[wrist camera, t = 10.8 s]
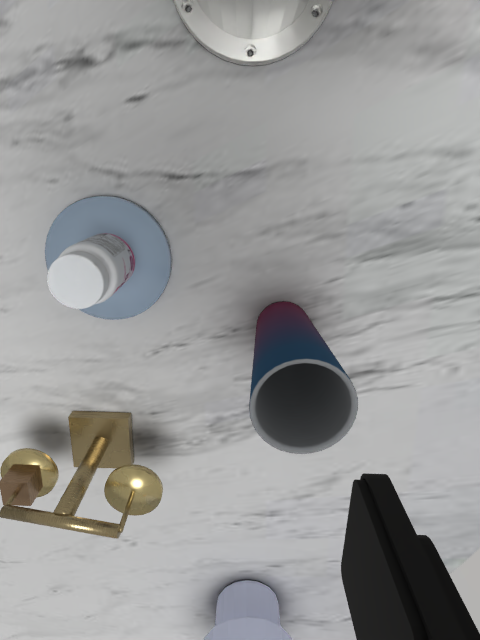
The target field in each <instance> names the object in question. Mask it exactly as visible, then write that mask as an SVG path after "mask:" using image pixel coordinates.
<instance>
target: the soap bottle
mask: <svg viewBox="0 0 480 640" xmlns="http://www.w3.org/2000/svg"><path fill="white" fill-rule="evenodd" d="M204 640H292V638H291V636H290V635H289V634H288V633H287V632H286V631H285V630H284V629H283V628H282V627H281V625H280V613H279V604H278V601H277V597H276V594H275V593H274V592H273V591H272V590H271V589H270V588H269V587H268V586H266V585H264V584H262V583H260V582H258V581H250V580H244V581H239V582H235V583H233V584H231V585H229V586H227V587H225V588H224V590H223V591H222V592H221V593H220V595H219V597H218V601H217V606H216V621H215V626H214V627H213V628H212V629H211V631H210V632H209V633H208V634H207V635H206V637H205V638H204Z"/></svg>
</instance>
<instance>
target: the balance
mask: <svg viewBox="0 0 480 640" xmlns="http://www.w3.org/2000/svg"><path fill="white" fill-rule="evenodd" d="M68 418H69V427H70V436H71V445H72V453H73V462H74V467H78V469H77V471H76V472H75V474H74V476H73V478H72V480H71V482H70V483H69V485H68V487H67V489H66V491H65V492H64V494H63V496H62V498H61V500H60V501H59V503H58V505H57V507H56V509H55V510H54V512H53V513H52V512H47V511H41V510H35V509H30V508H24V507H18V506H12V505H22V506H31V505H32V503H33V502H34V500H35V498H36V497H41V496H44V495H46V494H48V493H49V492H50V491H51V490H52V489H53V487H54V486H55V484H56V482H57V480H58V468H57V466H56V464H55V462H54V461H53V460H52V459H51V458H50V457H49V456H48V455H47V454H45V453H43V452H41V451H39V450H36V449H30V448H24V449H19V450H16V451H14V452H12V453H11V454H10V455H9V456H8V457H7V458H6V459H5V460H4V462H3V463H2V466H1V477H2V479H1V480H0V490H1V496H2V501H3V505H4V506H3V507H2V509H1V511H0V517H1V518H6V519H12V520H17V521H23V522H28V523H34V524H39V525H45V526H50V527H56V528H62V529H67V530H73V531H78V532H84V533H89V534H95V535H100V536H106V537H111V538H119V536H120V533H122V531H123V528H124V525H125V522H126V519H127V516H128V515H143V514H146V513H149V512H151V511H152V510H154V509H155V508H156V507H157V506H158V504H159V503H160V500H161V497H162V492H163V487H162V483H161V480H160V479H159V477H158V476H157V475H156V474H155V473H154V472H153V471H152V470H150V469H148V468H146V467H144V466H140V465H133V463H134V453H133V436H132V419H131V413H121V412H89V411H72V413H71V414H70V416H69V417H68ZM97 468H117V469H115V470H114V471H113V472H112V473H111V474H110V475H109V477H108V479H107V481H106V484H105V488H104V492H105V497H106V499H107V501H108V502H109V504H110V505H111V506H112V507H113V508H114V509H116V510H117V511H119V512H121V513H123V516H122V519H121V522H120V524H115V523H109V522H104V521H98V520H92V519H87V518H81V517H75V516H74V515H75V513H76V511H77V509H78V507H79V504H80V502H81V500H82V498H83V496H84V494H85V492H86V490H87V488H88V486H89V484H90V482H91V480H92V478H93V476H94V474H95V472H96V470H97Z"/></svg>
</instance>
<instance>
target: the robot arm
mask: <svg viewBox="0 0 480 640" xmlns="http://www.w3.org/2000/svg"><path fill="white" fill-rule="evenodd" d="M173 1H174V4H175V6H176V9H177V11H178V13H179V15H180V17H181V19H182V20H183V22H184V24H185V26H186V28H187V29H188V30H189V31H190V33H191V34H192V35H193V36H194V38H195V39H196V40H197V41H198V42H199V43H200V44H201V45H202V46H203V47H205V48H206V49H207V50H208V51H209V52H211V53H213V54H214V55H216V56H218V57H220V58H221V59H223V60H226V61H229V62H232V63H236V64H239V65H250V66H256V65H264V64H270V63H273V62H276V61H279V60H281V59H284V58H286V57H287V56H289V55H291V54H292V53H294V52H296V51H297V50H299V49H300V48H301V47H302V46H303V45H304V44H305V43H306V42H307V41H309V40H310V39H311V37H312V36H313V35H314V33H315V32H316V31H317V30H318V28H319V27H320V26H321V24H322V22H323V21H324V19H325V17H326V15H327V14H328V11H329V9H330V7H331V4H332V2H333V0H173ZM188 6H190V7H191V8H192V10H191V12H189V13H188V12H186V11H185V9H186V7H188ZM313 11H317V12H318V16H317V17H313V15H312V12H313ZM250 50H251V51H253V53H254V55H253V56H252V57H249V56H248V55H247V52H248V51H250ZM341 574H342V580H343V585H344V589H345V593H346V597H347V601H348V605H349V609H350V614H351V618H352V622H353V626H354V630H355V634H356V638H357V640H480V634H479V632H478V630H477V628H476V626H475V624H474V622H473V620H472V618H471V616H470V615H469V612H468V610H467V608H466V606H465V604H464V603H463V601H462V599H461V597H460V595H459V593H458V591H457V589H456V587H455V585H454V583H453V581H452V579H451V577H450V575H449V573H448V571H447V569H446V567H445V565H444V563H443V562H442V560H441V558H440V556H439V554H438V552H437V550H436V548H435V546H434V544H433V543H432V541H431V539H430V538H429V537H427V536H426V535H417V534H416V532H415V530H414V528H413V526H412V524H411V522H410V520H409V518H408V516H407V514H406V511H405V509H404V507H403V505H402V503H401V501H400V499H399V497H398V495H397V493H396V491H395V489H394V486H393V484H392V482H391V480H390V478H389V477H388V475H386V474H362V476H361V479H360V480H354V482H353V487H352V493H351V500H350V507H349V514H348V521H347V528H346V535H345V542H344V549H343V555H342V562H341Z"/></svg>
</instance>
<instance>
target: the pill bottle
mask: <svg viewBox="0 0 480 640" xmlns="http://www.w3.org/2000/svg"><path fill="white" fill-rule="evenodd" d="M134 269H135V256H134V253H133V250H132V248H131V247H130V245H129V244H128V243H127V242H126V241H125V240H123V239H122V238H121V237H119V236H117V235H114V234H110V233H102V234H97V235H94V236H92V237H90V238H87V239H85V240H83V241H80V242H78V243H76V244H74V245H71V246H69V247H68V248H66V249H65V250H64V251H63V252H62V253H61V254H60V256H59V257H58V258H57V259H56V260H55V261H54V262H53V263H52V264H51V266H50V268H49V270H48V274H47V283H48V287H49V290H50V292H51V293H52V295H53V296H54V298H55V299H56V300H57V301H59V302H60V303H61V304H63V305H65V306H67V307H69V308H73V309H84V308H88V307H91V306H93V305H94V304H99V303H102V302H104V301H106V300H107V299H108V298H110V297H111V296H112V295H113V294H114V293H115V292H116V291H117V290H118V289H119V288H120V287H121V286H122V285H123V284H124V283H125V282H127V281H128V279H129V278H130V277H131V276H132V274H133V272H134Z"/></svg>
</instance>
